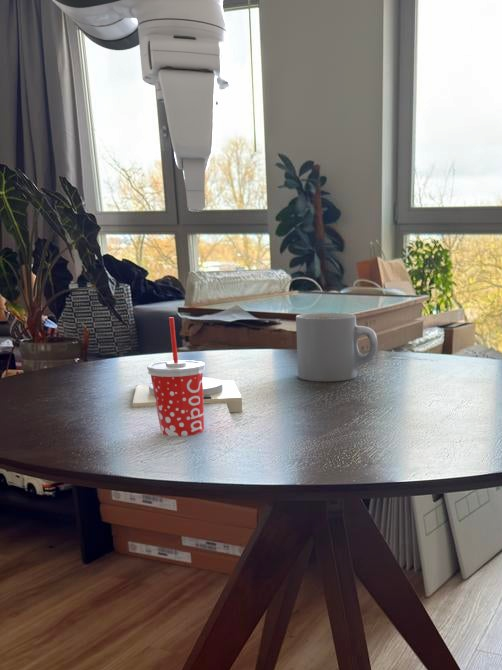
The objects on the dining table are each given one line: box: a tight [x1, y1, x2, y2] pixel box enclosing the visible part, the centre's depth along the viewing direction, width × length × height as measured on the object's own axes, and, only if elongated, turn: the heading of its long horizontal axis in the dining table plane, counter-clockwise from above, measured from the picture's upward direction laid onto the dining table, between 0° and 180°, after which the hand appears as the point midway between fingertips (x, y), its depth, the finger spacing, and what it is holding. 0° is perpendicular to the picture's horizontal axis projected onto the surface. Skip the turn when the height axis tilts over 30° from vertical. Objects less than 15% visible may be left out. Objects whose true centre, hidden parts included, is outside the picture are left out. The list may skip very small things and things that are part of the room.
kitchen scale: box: [132, 377, 244, 413], centre depth 101 cm, size 14×13×3 cm
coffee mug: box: [295, 312, 379, 383], centre depth 121 cm, size 13×10×10 cm
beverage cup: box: [146, 316, 206, 437], centre depth 80 cm, size 6×6×14 cm
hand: (196, 210), depth 79 cm, fingers open, 8 cm apart
